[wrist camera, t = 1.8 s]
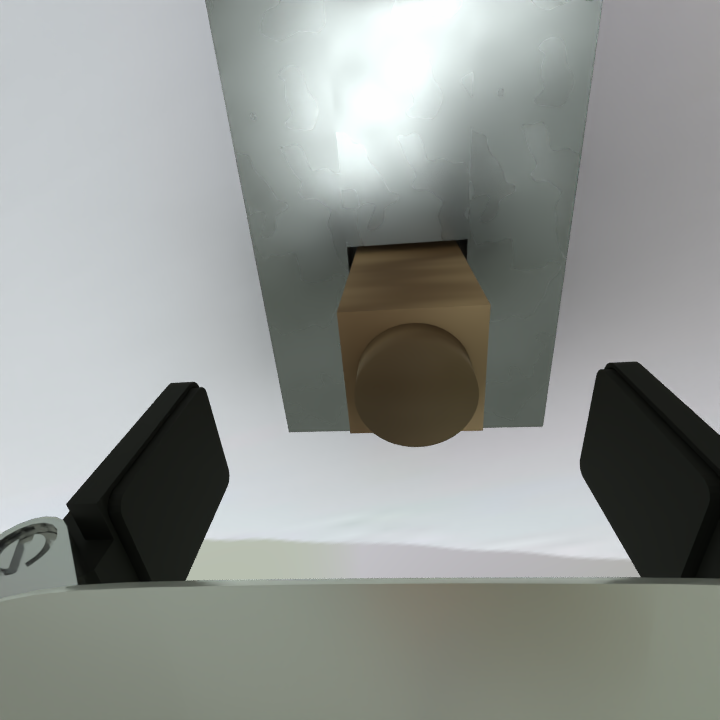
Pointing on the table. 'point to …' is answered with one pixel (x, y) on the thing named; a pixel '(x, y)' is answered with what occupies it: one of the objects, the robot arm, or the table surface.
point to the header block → (407, 167)
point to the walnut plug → (414, 343)
